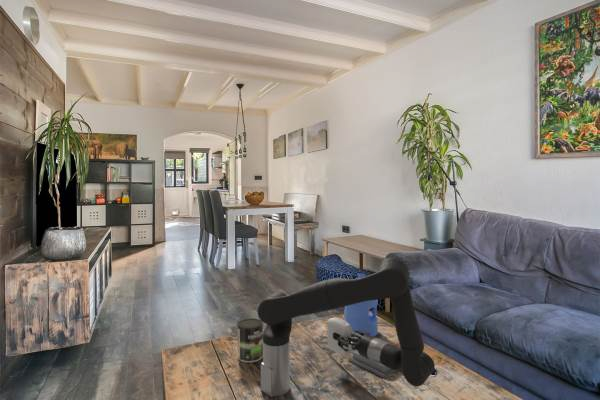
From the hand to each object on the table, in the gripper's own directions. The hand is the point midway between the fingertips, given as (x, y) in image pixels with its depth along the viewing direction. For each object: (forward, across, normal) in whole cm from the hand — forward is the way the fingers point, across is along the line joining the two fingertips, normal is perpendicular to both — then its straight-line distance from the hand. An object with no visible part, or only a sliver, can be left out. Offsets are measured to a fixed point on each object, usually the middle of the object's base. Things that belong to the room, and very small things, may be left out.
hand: (337, 333), depth 135 cm
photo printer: (-1, 0, +7) cm, 7 cm away
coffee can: (+31, +19, +15) cm, 39 cm away
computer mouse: (-20, -26, +15) cm, 36 cm away
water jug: (+15, -33, +14) cm, 39 cm away
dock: (-7, -14, +14) cm, 21 cm away
